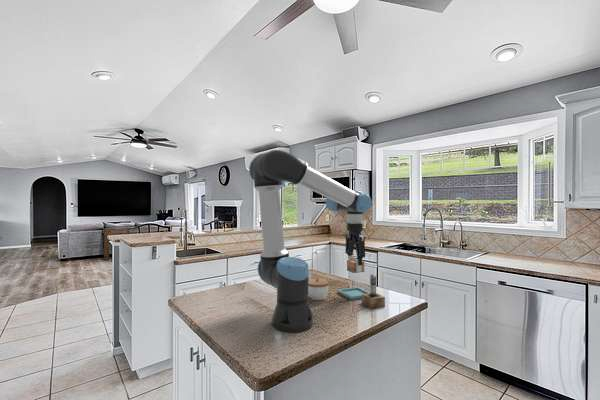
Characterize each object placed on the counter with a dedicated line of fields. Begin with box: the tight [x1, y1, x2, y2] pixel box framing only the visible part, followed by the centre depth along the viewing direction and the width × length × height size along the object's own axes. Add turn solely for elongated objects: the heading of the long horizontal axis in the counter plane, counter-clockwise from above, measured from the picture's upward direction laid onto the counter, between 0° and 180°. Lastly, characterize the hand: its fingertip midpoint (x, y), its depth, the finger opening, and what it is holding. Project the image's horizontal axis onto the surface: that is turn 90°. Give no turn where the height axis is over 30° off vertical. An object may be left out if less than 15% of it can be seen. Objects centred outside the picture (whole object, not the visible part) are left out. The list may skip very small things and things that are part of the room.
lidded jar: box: [308, 277, 330, 301], centre depth 135 cm, size 11×11×9 cm
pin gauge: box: [369, 273, 377, 297], centre depth 127 cm, size 3×3×13 cm
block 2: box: [361, 292, 386, 309], centre depth 127 cm, size 7×7×4 cm
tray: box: [337, 286, 370, 301], centre depth 140 cm, size 12×12×2 cm
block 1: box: [346, 258, 365, 274], centre depth 141 cm, size 6×6×5 cm
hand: (354, 270), depth 141 cm, fingers closed on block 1, 6 cm apart
